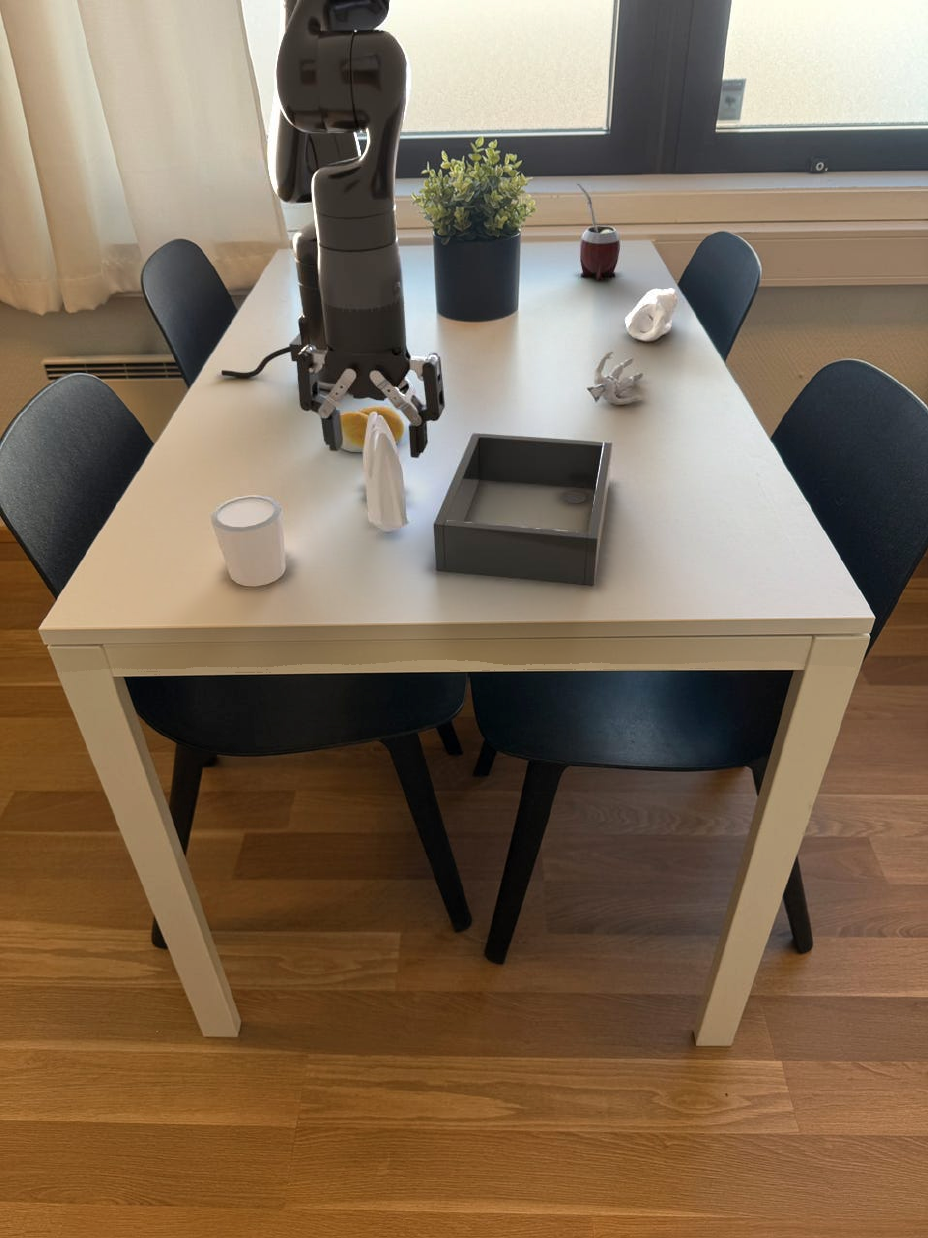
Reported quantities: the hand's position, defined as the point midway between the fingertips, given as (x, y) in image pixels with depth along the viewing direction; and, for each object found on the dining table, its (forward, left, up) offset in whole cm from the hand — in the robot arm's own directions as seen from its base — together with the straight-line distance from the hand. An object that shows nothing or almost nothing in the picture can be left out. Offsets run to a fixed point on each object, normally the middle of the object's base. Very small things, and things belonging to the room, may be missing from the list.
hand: (376, 450), depth 91 cm
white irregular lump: (+26, +63, -10) cm, 69 cm away
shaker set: (0, +3, -10) cm, 10 cm away
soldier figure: (+22, +38, -10) cm, 45 cm away
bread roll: (-8, +20, -10) cm, 23 cm away
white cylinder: (-11, -10, -9) cm, 17 cm away
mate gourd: (+15, +90, -9) cm, 92 cm away
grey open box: (+15, +3, -9) cm, 18 cm away
